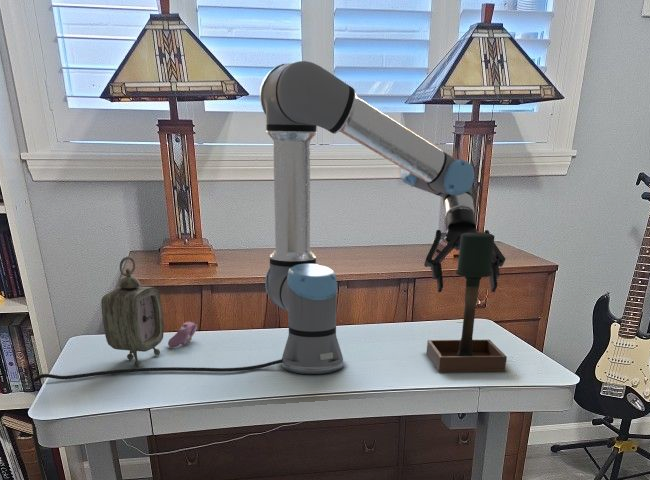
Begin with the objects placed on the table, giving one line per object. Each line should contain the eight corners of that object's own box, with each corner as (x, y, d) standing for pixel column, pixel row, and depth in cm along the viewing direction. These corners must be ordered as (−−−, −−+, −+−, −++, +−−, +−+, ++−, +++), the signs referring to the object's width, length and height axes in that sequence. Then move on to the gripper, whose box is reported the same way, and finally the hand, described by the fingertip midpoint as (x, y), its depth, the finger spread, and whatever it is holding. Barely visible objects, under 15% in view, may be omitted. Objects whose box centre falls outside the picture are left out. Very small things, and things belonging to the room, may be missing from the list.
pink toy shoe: (181, 354, 188) (190, 331, 184) (165, 346, 187) (174, 323, 184) (193, 344, 196) (202, 322, 193) (178, 336, 196) (187, 314, 192)
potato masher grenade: (482, 356, 182) (497, 233, 167) (479, 365, 174) (494, 237, 160) (450, 353, 184) (461, 231, 169) (445, 362, 176) (457, 235, 162)
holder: (438, 372, 172) (440, 357, 170) (426, 354, 185) (427, 340, 184) (504, 371, 173) (506, 356, 171) (487, 353, 187) (489, 339, 185)
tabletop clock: (141, 370, 170) (127, 262, 158) (107, 367, 172) (91, 260, 160) (166, 353, 183) (156, 253, 171) (135, 351, 184) (122, 251, 172)
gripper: (503, 226, 184) (512, 297, 178) (409, 226, 183) (415, 297, 177) (511, 207, 177) (521, 280, 171) (414, 206, 175) (420, 280, 170)
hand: (467, 289), depth 174 cm, fingers open, 13 cm apart
